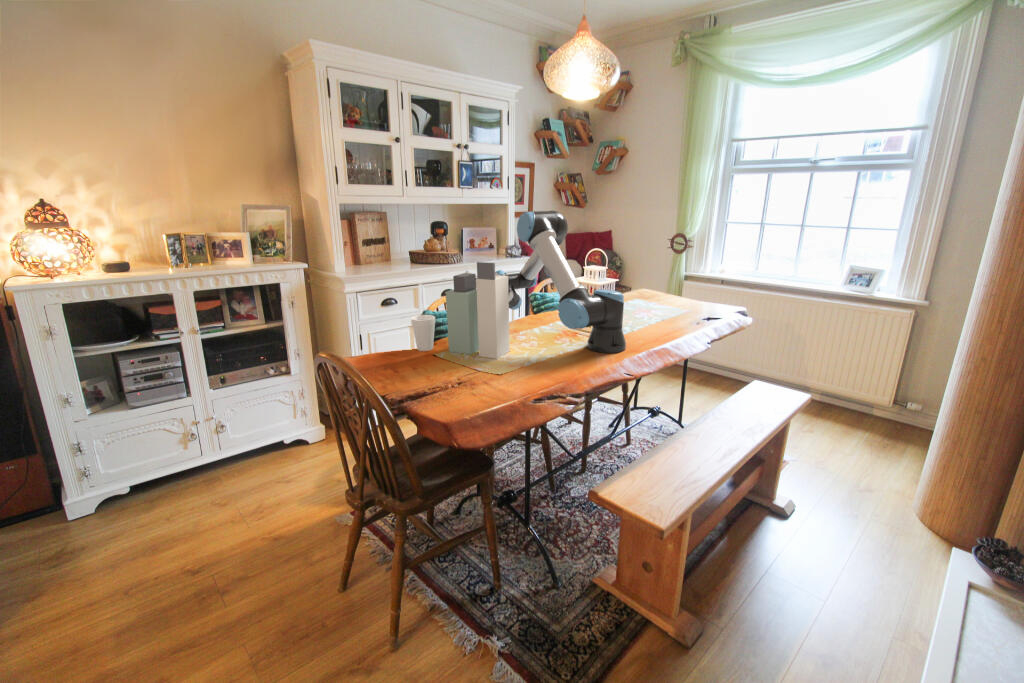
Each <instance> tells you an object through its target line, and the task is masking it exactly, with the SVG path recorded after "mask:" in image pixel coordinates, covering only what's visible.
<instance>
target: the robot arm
mask: <svg viewBox="0 0 1024 683" xmlns="http://www.w3.org/2000/svg"><path fill="white" fill-rule="evenodd" d="M516 225H517V226H516V232H517V237H518V239H519V241H520V242H524V243H528V246H529V247H530V249H531V250H533V251H532V253H531V254H530V256H529V258H527V261H526V262H525V264H524V266H523V267H522V269H521V270H520V271H519V272H518V273H517V272H516V273H509V274H507V273H506V271H505V270H503V269H498V270H495V275H501V276H508V293H509V310H513V311H515V310H518V309H519V308H520V307H521V306H522V300H523V299H522V298H521V296H520V295H519V294H518V293H517V292H516V290H521V289H529V288H533V287H535V286H536V285H537V282H538V277H537V276H538V274H539V273H540V271H541V270H542V269H543V267H544V268H545V270H546V272H547V273H548V275H549V278H550V280H551V282H552V283H553V285H554V288H555V289H556V291H557V293H558V295H559V299H558V303H559V305H558V307H557V311H558V313H557V314H558V318H559V320H560V321H561V323H562V325H564V326H565V327H567V329H571V330H578V329H579V330H581V329H585V328H589V327H592V328H591V331H590V333H589V336H588V339H587V345H586V346H587V348H588V349H589V350H591V351H593V352H595V353H606V354H612V353H614V354H615V353H620V352H623V351H624V350H626V348H627V347H626V346H627V341H626V338H625V335H624V331H623V321H624V307H625V306H624V305H625V302H624V301H625V299H624V298H625V297H624V294H623V293H622V292H621V291H616V290H610V289H594V290H593V292H592V295H591V294H590V293H589V291H588V289H587V288H586V287H585V286H581V285H580V283H579V282H578V279H577V278H576V275H575V274H574V272H573V270H572V268H571V267H570V265H569V263H568V260H567V259H566V258H565V255H564V254H563V251H562V250H561V249H560V246H561V245H562V243H564V240H565V238H566V237H567V235H568V230H569V226H568V221H567V219H566V216H564V214H562V213H561V212H559V211H557V210H540V211H538V210H537V211H535V210H531V211H524V212H523V213H521V214H520V216H519V218H518V220H517V224H516ZM465 273H471V272H470V271H468V270H465ZM476 279H477V277H476Z"/></svg>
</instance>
